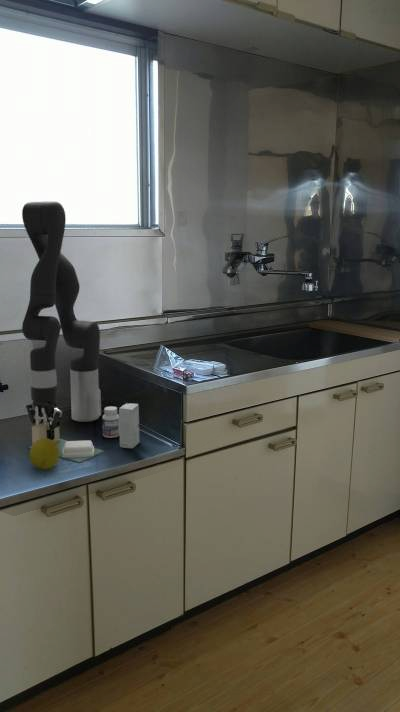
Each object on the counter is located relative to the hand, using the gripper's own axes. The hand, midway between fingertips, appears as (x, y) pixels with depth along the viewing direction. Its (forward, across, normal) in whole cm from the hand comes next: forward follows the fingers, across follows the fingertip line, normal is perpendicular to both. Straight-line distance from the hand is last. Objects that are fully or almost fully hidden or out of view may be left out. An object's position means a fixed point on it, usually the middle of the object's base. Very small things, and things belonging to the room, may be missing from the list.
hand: (46, 439), depth 178 cm
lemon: (+2, -12, +12) cm, 17 cm away
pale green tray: (+2, -8, 0) cm, 8 cm away
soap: (+1, -13, 0) cm, 13 cm away
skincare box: (+2, -20, -14) cm, 25 cm away
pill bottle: (+2, -11, -17) cm, 20 cm away
